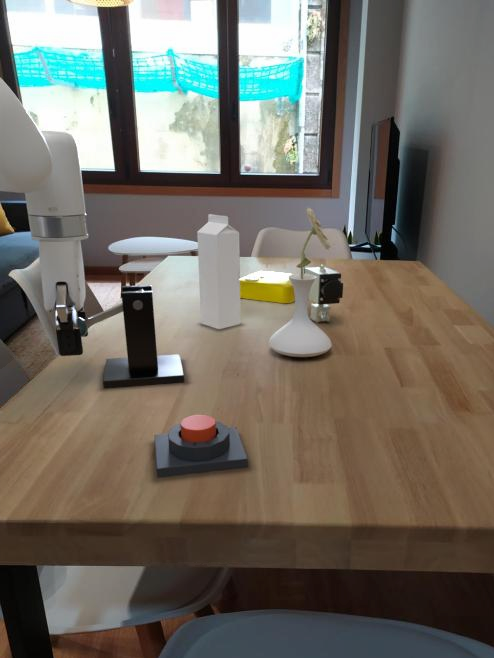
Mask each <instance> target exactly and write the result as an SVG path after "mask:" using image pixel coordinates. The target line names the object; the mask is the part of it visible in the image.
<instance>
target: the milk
mask: <svg viewBox="0 0 494 658" xmlns="http://www.w3.org/2000/svg"><path fill="white" fill-rule="evenodd" d="M207 218H208V219H207V223H205V224H204V225H203V226H202V227H200V229H198V231H196V233H197V237H196V238H197V257H198V259H197V260H198V281H199V282H198V283H199V307H200V308H199V309H200V324H201V325H204V326H208V327H211V328H213V329H217V330H223V329H225V328H226V329H227V328H230V327H231V328H232V327H235V326H238V325H241V298H240V279H241V257H240V256H241V255H240V254H241V253H240V251H241V249H240V248H241V247H240V232H239V231H238V230H236V229H235V228H234V227H233V226H231V225H230V224H229V217H228V216H227V215H220V214H219V215H218V214H213V213H212V214H211V213H209V214H208V215H207Z"/></svg>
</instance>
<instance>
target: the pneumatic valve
mask: <svg viewBox="0 0 494 658" xmlns="http://www.w3.org/2000/svg"><path fill="white" fill-rule="evenodd" d="M303 274H310V275H315V276H316V277H317V278H316V280H315V281H314V282H313V284H312V286H311V289H310V292H309V298H308V300H311V302H312V303H311V304H310V305H309V306H310V315H309V319H310V320H311V321H313V322H314V323H317V324H318V323H319V322H330V321H331V318H330V317H331V313H330V311H331V309H332V308H331V306H330V305H333V304H334V305H336V304H340V303H341V301H340V300H341V299H343V294H344V283H343V282H342V273H340V272H339V271H338V270H335V269H331V268H328V267H326V266H325V264H320V265H319V266H317V265H316V266H305V267H303ZM313 302H314V303H313Z"/></svg>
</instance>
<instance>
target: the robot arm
mask: <svg viewBox="0 0 494 658" xmlns="http://www.w3.org/2000/svg"><path fill="white" fill-rule="evenodd" d="M0 192H6V193H17V194H24V197H25V203H26V209H27V217H28V224H29V230H30V238H31V240H33V241H36V242H38V258H39V270H40V279H41V289H42V296H43V297H42V298H43V306H44V307H43V308H44V310H45V311H46V312H47V313H51V312H53V311H54V310H55V311H54V312H55V335H56V340H57V348H58V354H59V356H61V357H71V356H82V355H83V354H84V347H83V339H82V338H86V337H88V335H89V330H88V331H87V333H86V334H85V335H84V336H83V337H81V331H80V328H78V321H77V317H80V318H82V319H84V320H85V319H87V312H86V311H85V305H84V304H85V301H86V277H85V276H86V275H85V266H84V257H83V248H82V243H81V241H84V240H88V239H89V238H90V237H89V229H88V228H89V227H88V220H87V214H86V213H87V212H86V202H85V192H84V185H83V176H82V168H81V157H80V151H79V144H78V141H77V139H76V137H75V136H74V135H72V134H70V133H68V132H65V131H53V130H40V129H39V127H38V125H37V124H36V123H35V121H34V119H33V118H32V116H31V115H30V114H29V113H28V111H27V109H26V108H25V106H24V105H23V103H22V102H21V101H20V100H19V98H18V97H17V95H16V94H15V93H14V92H13V90H12V89H11V87H10V86H9V85H8V84H7V83H6V82H5V81H4V79H3V78H2V77H0Z"/></svg>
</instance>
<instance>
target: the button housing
mask: <svg viewBox="0 0 494 658" xmlns="http://www.w3.org/2000/svg"><path fill="white" fill-rule="evenodd" d="M215 421H216V437H215V438H214V439H211V440H209V441H206V442H196V443H195V442H189V441H185V440H183V439H182V438H181V422H179V423H177V424H175V425H173V427H171V428H170V429H169V431H167V433H162V434H160V433H159V434H154V449H155V450H154V451H155V462H156V463H155V464H156V478H158V479H159V478H168V477H175V476H184V475H195V474H203V473H213V472H219V471H220V472H221V471H229V470H237V469H245V468H246V469H247V468H249V463H248V462H249V459H248V456H247V453H246V449H245V448H244V445H243V441H242V439H241V437H240V434H239V431H238V429H237V426H234V427H232V426H231V427H228V426H227V425H225V424H223V423H222V422H220V421H218V420H215Z"/></svg>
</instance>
